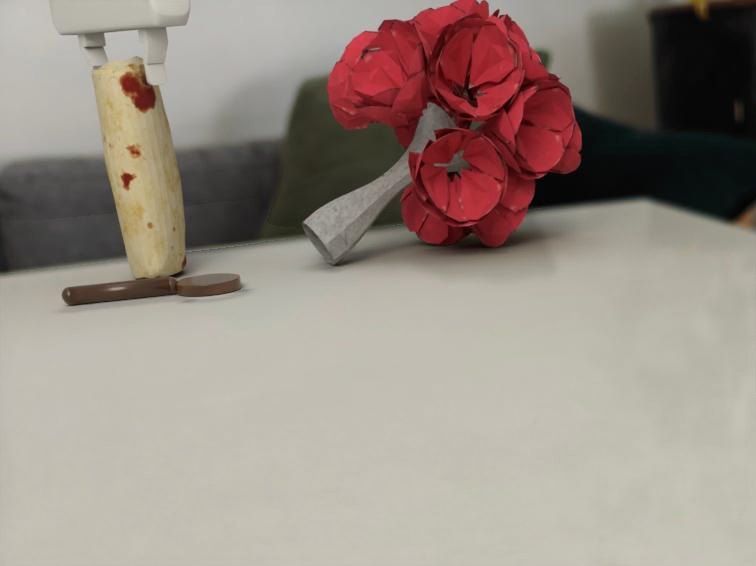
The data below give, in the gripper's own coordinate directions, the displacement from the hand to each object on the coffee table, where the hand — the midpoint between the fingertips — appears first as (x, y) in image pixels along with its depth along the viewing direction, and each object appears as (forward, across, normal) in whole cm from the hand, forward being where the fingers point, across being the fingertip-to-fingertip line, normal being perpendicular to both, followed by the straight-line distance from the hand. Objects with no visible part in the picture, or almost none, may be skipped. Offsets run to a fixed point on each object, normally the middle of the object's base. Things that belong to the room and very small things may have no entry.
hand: (129, 86), depth 107 cm
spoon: (+18, +9, -7) cm, 21 cm away
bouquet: (+17, +16, +24) cm, 34 cm away
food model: (+18, 0, 0) cm, 18 cm away
